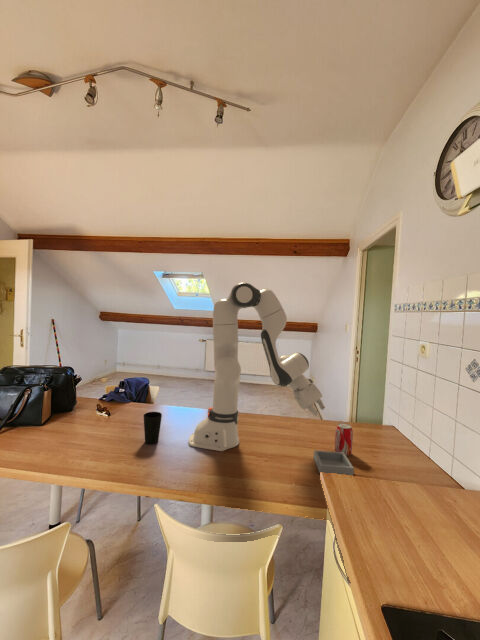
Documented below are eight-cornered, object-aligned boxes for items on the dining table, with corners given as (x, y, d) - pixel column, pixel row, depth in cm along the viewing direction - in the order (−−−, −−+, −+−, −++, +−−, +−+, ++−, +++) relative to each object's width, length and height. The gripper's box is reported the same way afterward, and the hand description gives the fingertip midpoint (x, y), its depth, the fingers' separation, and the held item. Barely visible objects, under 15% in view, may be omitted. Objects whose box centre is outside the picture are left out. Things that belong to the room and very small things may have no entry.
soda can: (349, 458, 121) (351, 430, 121) (332, 453, 125) (334, 426, 125) (353, 452, 127) (354, 425, 127) (336, 447, 131) (338, 421, 131)
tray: (320, 475, 108) (320, 465, 108) (313, 458, 120) (313, 450, 120) (353, 477, 107) (353, 468, 107) (343, 460, 119) (343, 452, 119)
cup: (164, 442, 128) (165, 415, 128) (148, 447, 122) (149, 419, 122) (154, 436, 133) (155, 410, 133) (139, 441, 128) (140, 414, 127)
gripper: (297, 386, 126) (318, 414, 121) (312, 378, 144) (331, 402, 139) (287, 395, 129) (307, 422, 124) (303, 386, 146) (322, 409, 141)
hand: (320, 411), depth 131 cm, fingers open, 8 cm apart
